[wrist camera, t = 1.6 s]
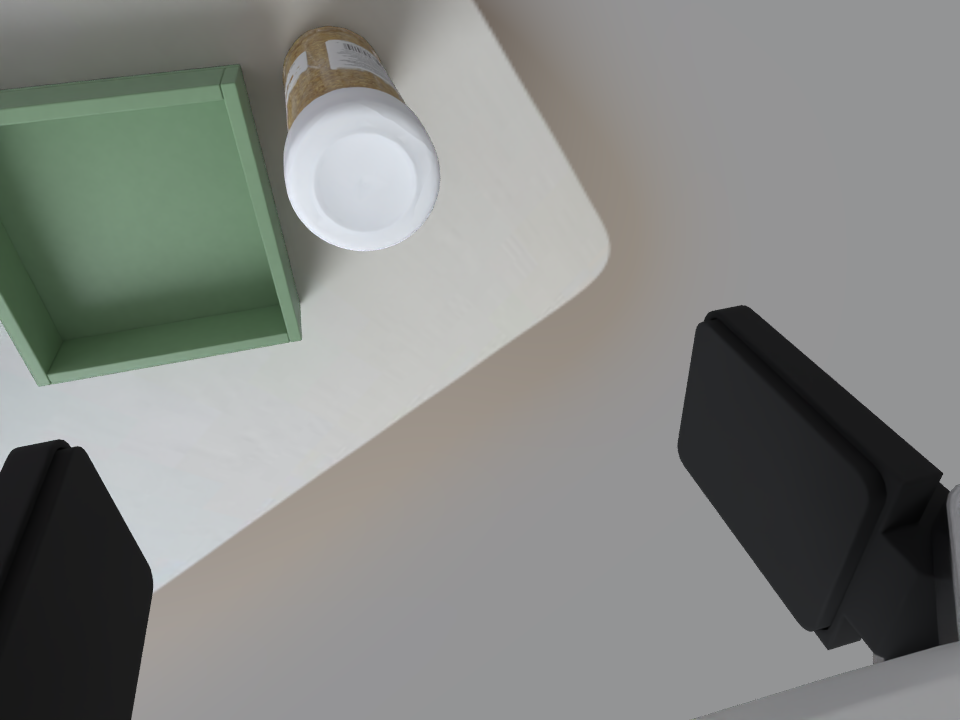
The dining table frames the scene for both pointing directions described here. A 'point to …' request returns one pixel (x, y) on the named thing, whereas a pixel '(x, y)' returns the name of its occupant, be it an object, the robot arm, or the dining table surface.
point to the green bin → (138, 225)
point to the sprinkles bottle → (353, 145)
